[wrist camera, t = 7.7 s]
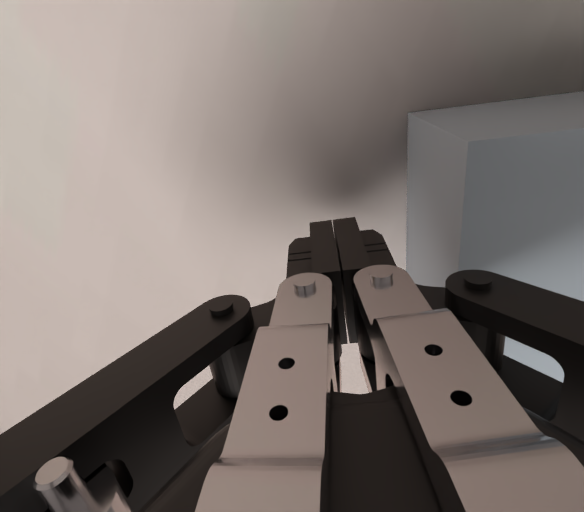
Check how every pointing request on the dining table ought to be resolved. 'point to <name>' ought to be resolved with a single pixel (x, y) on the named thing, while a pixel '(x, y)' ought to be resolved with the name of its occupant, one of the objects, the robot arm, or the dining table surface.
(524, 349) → the block
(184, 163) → the dining table surface
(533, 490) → the robot arm
